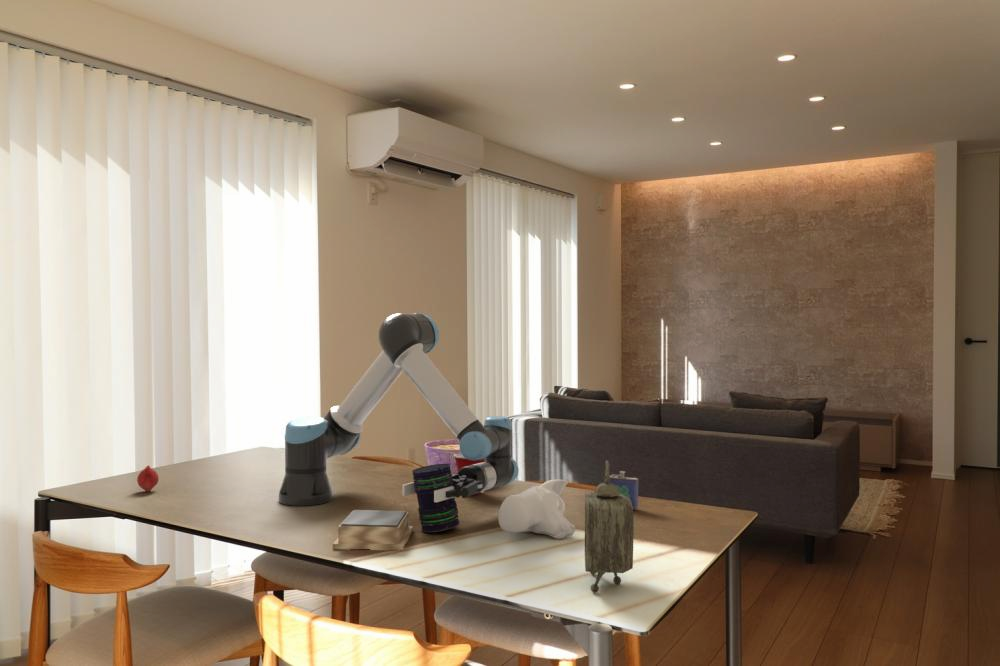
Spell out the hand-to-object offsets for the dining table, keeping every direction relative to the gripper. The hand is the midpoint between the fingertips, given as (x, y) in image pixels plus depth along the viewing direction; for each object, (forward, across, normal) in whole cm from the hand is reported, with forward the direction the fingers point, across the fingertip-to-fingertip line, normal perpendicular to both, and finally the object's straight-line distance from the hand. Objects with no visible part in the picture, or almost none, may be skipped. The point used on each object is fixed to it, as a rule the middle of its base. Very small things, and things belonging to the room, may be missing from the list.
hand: (418, 493), depth 185 cm
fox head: (-20, -24, -11) cm, 33 cm away
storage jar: (-6, -2, -10) cm, 12 cm away
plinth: (+10, +5, -10) cm, 15 cm away
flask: (-55, -27, -11) cm, 62 cm away
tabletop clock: (+1, -53, -11) cm, 54 cm away
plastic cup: (-42, +18, -10) cm, 47 cm away
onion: (+19, +94, -10) cm, 96 cm away
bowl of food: (-54, +34, -10) cm, 65 cm away
